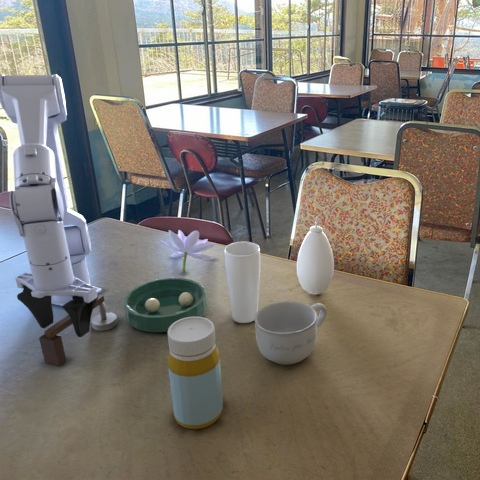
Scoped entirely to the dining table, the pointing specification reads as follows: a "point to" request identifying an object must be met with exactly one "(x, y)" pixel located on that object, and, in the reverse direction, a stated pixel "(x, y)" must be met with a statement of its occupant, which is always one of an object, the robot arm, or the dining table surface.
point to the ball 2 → (185, 299)
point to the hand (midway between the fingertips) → (65, 329)
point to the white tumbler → (243, 279)
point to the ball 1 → (152, 305)
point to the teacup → (288, 330)
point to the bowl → (163, 303)
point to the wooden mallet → (52, 341)
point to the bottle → (194, 372)
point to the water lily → (188, 246)
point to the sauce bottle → (315, 261)
